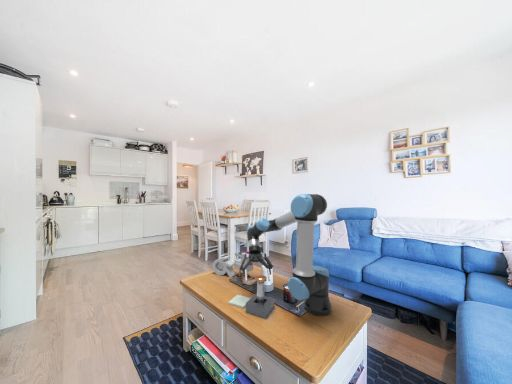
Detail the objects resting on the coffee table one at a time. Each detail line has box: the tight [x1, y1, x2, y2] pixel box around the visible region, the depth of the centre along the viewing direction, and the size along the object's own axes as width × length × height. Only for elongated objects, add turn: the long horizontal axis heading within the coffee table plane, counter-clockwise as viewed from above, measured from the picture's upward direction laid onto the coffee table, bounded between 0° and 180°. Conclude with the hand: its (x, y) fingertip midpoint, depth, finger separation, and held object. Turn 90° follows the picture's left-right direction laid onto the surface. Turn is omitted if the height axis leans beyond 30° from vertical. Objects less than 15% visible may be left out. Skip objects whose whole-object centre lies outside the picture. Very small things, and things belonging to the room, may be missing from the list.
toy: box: [234, 250, 255, 276], centre depth 160 cm, size 10×17×20 cm, turn 52°
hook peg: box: [254, 274, 268, 305], centre depth 116 cm, size 6×6×18 cm
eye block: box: [245, 293, 275, 320], centre depth 116 cm, size 12×12×5 cm
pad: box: [227, 294, 252, 309], centre depth 124 cm, size 10×10×1 cm
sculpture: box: [211, 255, 237, 278], centre depth 165 cm, size 18×6×15 cm, turn 66°
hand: (257, 280), depth 120 cm, fingers open, 13 cm apart
